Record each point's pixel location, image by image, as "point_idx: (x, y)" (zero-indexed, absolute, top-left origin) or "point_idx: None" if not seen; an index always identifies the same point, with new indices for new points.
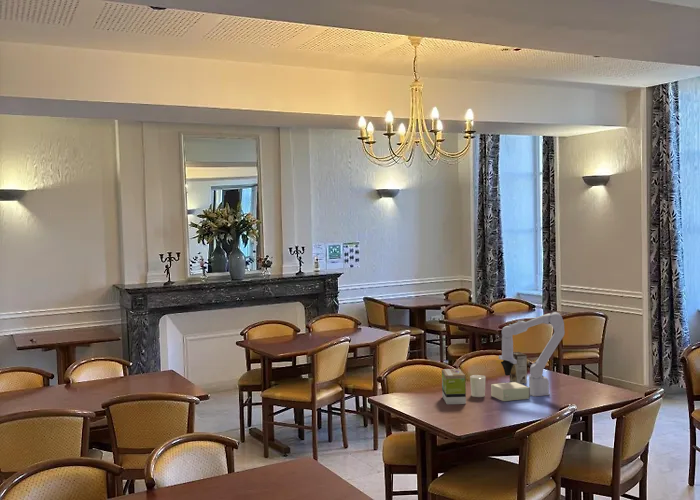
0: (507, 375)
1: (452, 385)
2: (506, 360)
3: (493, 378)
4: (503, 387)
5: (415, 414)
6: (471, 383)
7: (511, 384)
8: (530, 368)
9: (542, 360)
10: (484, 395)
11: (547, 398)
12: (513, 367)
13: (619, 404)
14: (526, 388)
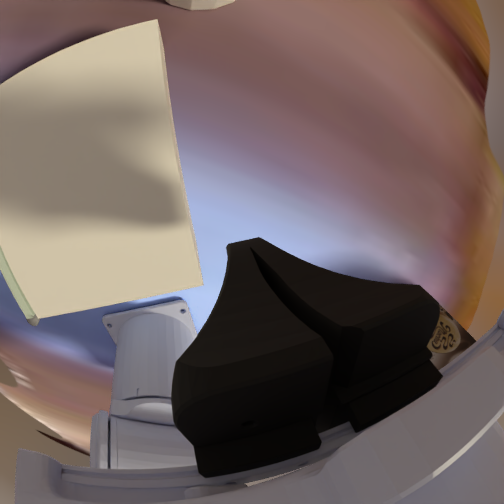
0: (227, 254)
1: None
2: (361, 430)
3: (463, 240)
4: (9, 117)
5: None
6: None
7: (105, 226)
8: (193, 460)
9: None
10: (168, 2)
11: (80, 352)
12: (438, 338)
13: (60, 442)
14: (18, 299)
